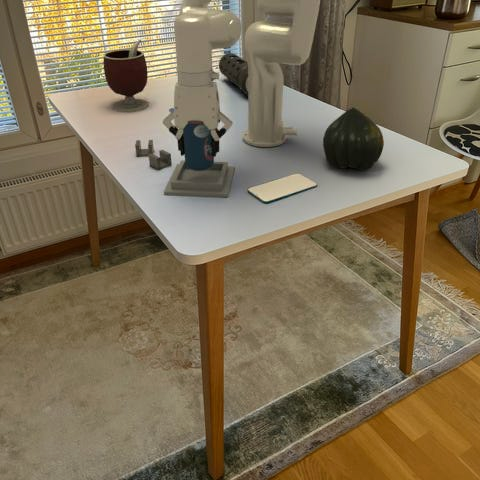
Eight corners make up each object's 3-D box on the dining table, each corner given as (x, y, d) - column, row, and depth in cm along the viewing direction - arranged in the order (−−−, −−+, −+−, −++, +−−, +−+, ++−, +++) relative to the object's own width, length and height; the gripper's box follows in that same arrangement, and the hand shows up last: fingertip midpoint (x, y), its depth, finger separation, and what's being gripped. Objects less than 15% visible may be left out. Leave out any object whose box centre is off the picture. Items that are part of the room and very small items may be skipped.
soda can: (213, 172, 113) (212, 123, 106) (184, 172, 113) (180, 123, 106) (214, 160, 119) (213, 112, 112) (186, 160, 119) (183, 112, 112)
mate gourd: (132, 115, 157) (123, 51, 146) (101, 108, 163) (90, 46, 152) (162, 102, 168) (156, 41, 157) (132, 96, 174) (124, 37, 163)
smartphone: (297, 175, 122) (245, 192, 114) (298, 172, 121) (245, 188, 114) (318, 188, 116) (265, 206, 109) (319, 184, 116) (265, 202, 108)
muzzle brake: (241, 78, 193) (240, 51, 187) (269, 98, 171) (269, 68, 166) (218, 80, 190) (217, 53, 184) (244, 102, 169) (244, 71, 163)
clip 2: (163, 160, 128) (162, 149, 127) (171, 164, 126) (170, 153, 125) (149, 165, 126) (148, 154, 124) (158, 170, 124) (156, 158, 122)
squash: (365, 165, 113) (385, 106, 114) (307, 154, 120) (327, 98, 121) (376, 184, 125) (394, 130, 126) (323, 172, 132) (341, 122, 133)
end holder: (234, 169, 124) (234, 159, 123) (227, 197, 112) (227, 187, 110) (177, 166, 125) (176, 157, 124) (164, 194, 113) (163, 184, 112)
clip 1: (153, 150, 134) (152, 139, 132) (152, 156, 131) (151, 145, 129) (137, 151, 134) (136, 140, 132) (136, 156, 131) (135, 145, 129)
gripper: (236, 73, 107) (237, 149, 117) (159, 71, 108) (166, 146, 118) (233, 83, 101) (233, 162, 111) (151, 81, 102) (159, 159, 112)
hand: (199, 153), depth 114 cm, fingers closed on soda can, 6 cm apart
